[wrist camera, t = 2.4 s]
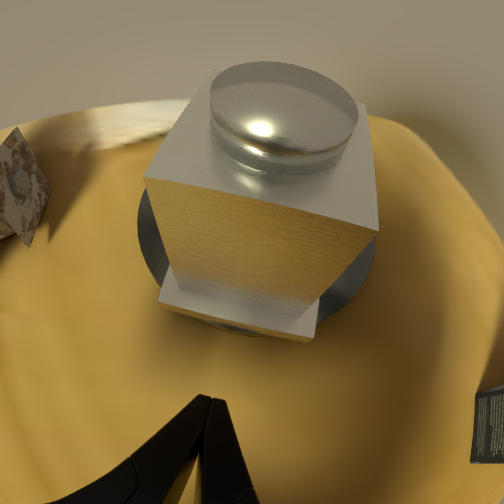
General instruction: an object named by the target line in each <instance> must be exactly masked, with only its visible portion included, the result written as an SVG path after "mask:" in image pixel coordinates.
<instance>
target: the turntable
mask: <svg viewBox="0 0 504 504" xmlns="http://www.w3.org/2000/svg"><path fill="white" fill-rule="evenodd" d="M137 226H138V238H139V243H140V247H141V251H142V254H143V256H144V259H145V261H146V264H147V266H148V268H149V270H150V272H151V274H152V275H153V277H154V279H155V280H156V282H157V284H158V285H159V287H160V288H162V285H163V282H164V279H165V276H166V273H167V271H168V268H169V265H170V262H169V259H168V256H167V253H166V250H165V247H164V244H163V241H162V238H161V235H160V232H159V229H158V226H157V223H156V219H155V216H154V213H153V210H152V206H151V203H150V200H149V196H148V193H147V189H146V188H145V190H144V193H143V195H142V198H141V202H140V206H139V211H138V220H137ZM375 241H376V236H374V238H373V239H372V240H371V241H370V242H369V243H368V245H367V246H366V247H365V248H364V249H363V250H362V251H361V253H360V254H359V255H358V256H357V257H356V258H355V259H354V260H353V262H352V263H351V264H350V265H349V266H348V267H347V268H346V269H345V270H344V272H343V273H342V274H341V275H340V276H339V277H338V278H337V279H336V280H335V281H334V282H333V283H332V285H331V286H330V287H329V288H328V289H327V290H326V291H325V292H324V293H323V294H322V295H321V296H320V298H319V306H318V313H317V321H316V325H317V324H319V323H321V322H323V321H324V320H326V319H328V318H329V317H331V316H332V315H334V314H335V313H336V312H338V311H339V310H340V309H341V308H342V307H343V306H345V305H346V304H347V303H348V302H349V301H350V300H351V299H352V298H353V297H354V295H355V294H356V293H357V292H358V291H359V289H360V288H361V286H362V285H363V283H364V281H365V279H366V278H367V276H368V273H369V271H370V268H371V265H372V262H373V258H374V253H375ZM194 318H195V317H194ZM195 319H197V320H198V321H201V322H203V323H205V324H207V325H209V326H211V327H213V328H216V329H219V330H222V331H225V332H229V333H232V334H238V335H244V336H250V337H273V336H271V335H266V334H261V333H257V332H252V331H248V330H244V329H239V328H235V327H231V326H227V325H223V324H219V323H215V322H211V321H207V320H203V319H199V318H195Z"/></svg>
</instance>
